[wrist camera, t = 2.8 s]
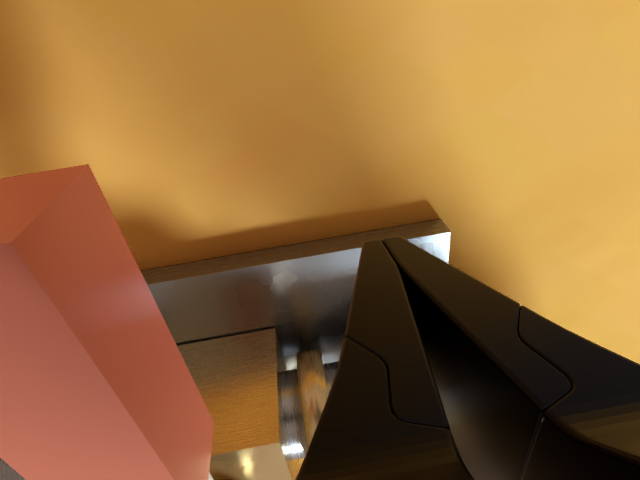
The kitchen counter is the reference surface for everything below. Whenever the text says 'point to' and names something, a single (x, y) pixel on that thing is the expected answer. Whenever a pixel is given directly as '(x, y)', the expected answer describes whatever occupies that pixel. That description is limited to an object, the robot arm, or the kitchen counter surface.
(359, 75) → the kitchen counter surface
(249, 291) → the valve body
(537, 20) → the kitchen counter surface
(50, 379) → the lever
